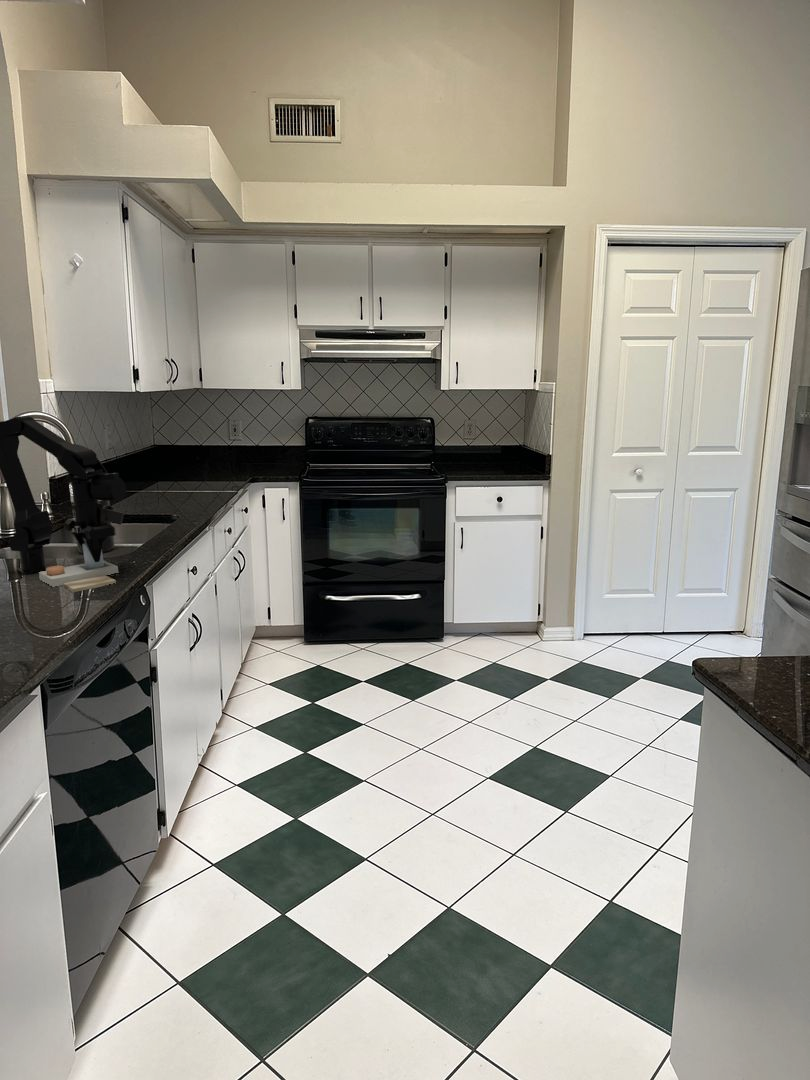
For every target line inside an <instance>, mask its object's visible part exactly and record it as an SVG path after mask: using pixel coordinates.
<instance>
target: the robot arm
mask: <svg viewBox="0 0 810 1080" xmlns="http://www.w3.org/2000/svg"><path fill="white" fill-rule="evenodd" d="M21 436H23V437H24V438H27V439H28V440H29V441H31V442H32V443H34V444H36V445H37V446H38V447H40V448H42V449H43V450H45V451H46V452H48V453H49V454H51V455H53V456H54V457H55V458H56V459H57V462H58V464H59V465H60V466H61V468H63V469H64V470H65V471H66V472H67V473H68V475H67V476H66V477H64V479H63V481H62V483H66V484H67V483H68V484H69V483H71V485H72V493H73V500H74V504H72V503H71V509H72V510H73V509H75V515H76V518H74V517H72V518H67V519H66V521H65V522H64V528H65V530H66V531H68V532H71V531H72V530H73V532H71V533H70V534H71V536H72V537H73V538H74V539H75V541H76V544H77V543H78V544H79V546H80V547H81V549H82V550H83V546H82V544H83V543H85V544H86V546H87V548H88V550H89V552H90V554H91V556H92V558H93V560H94V561H95V562H99V561H100V556H101V551H102V545H103V542H104V540H105V539H106V538H107V537H109V536H113V537H114V536H116V534H117V533H116V528H115V527H114V526H113V524H117V525H119V526H122V523H123V520H124V515H125V513H124V512H121V511H118V510H114V507H113V506H112V505H110V504H109V505H110V506H109V505H104V506H103V505H102V504H101V503H99V502H98V500H109V502H111V501H112V502H113V501H118V502H120V501H122V500H123V499H125V496H126V493H127V485H126V484H125V481H124V480H123V479H122V478H121V477H120V475H119V472H113V473H109V472H108V470H107V469H106V467H105V465H103V464H102V463H101V460H100V459H99V458H98V456H97V453H96V452H95V451H94V450H93V449H90V448H88V447H86V446H84V445H80V444H76V443H72V442H69V441H67V439H65V438H63V437H61V436H59V435H58V434H56V433H55V432H54V431H52V430H51V429H49V428H47V427H46V426H44V425H42V424H41V423H39V422H38V421H36V419H35V418H34V417H32V416H31V415H30V416H29V415H22V416H19V415H18V416H15V417H13V418H10V419H7V420H1V421H0V472H1V475H2V477H3V481H4V483H5V486H6V489H7V491H8V494H9V496H10V500H11V502H12V504H13V507H14V510H15V516H14V522H13V526H14V530H15V534H14V535H13V536H12V537H11V539H10V541H9V542H8V546H9V549H10V550H11V552H18V553H19V559H20V566H21V567H18V568H17V571H18V570H19V571H18V572H20V571H21V572H20V573H22V572H23V573H29V574H32V573H31V572H35V573H37V572H36V571H40V572H42V571H41V570H45V571H46V568H48V567H49V566H48V565H46V558H45V552H44V546H46V545H47V546H48V545H50V543H51V539H52V538H51V537H52V534H53V533H54V528H53V526H54V523H53V522H52V520H51V518H50V513H49V512H48V510H43V511H42V510H41V509H40V508H39V507H38V506H37V504H36V501H35V499H34V496H33V494H32V489H31V487H30V484H29V482H28V480H27V477H26V474H25V471H24V469H23V466H22V463H21V461H20V458H19V455H18V450H19V446H20V438H19V437H21ZM93 470H94V471H93ZM106 521H108V522H112V525H110V524H107V523H106ZM23 573H22V574H23Z"/></svg>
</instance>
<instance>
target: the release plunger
mask: <svg viewBox="0 0 810 1080" xmlns="http://www.w3.org/2000/svg"><path fill="white" fill-rule="evenodd" d="M64 567H65V566H64V565H52V566H48V568H46V570H45V571H46V572H47V574H48V575H49V576H55V575H60V574H64V573H63V572H64Z"/></svg>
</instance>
